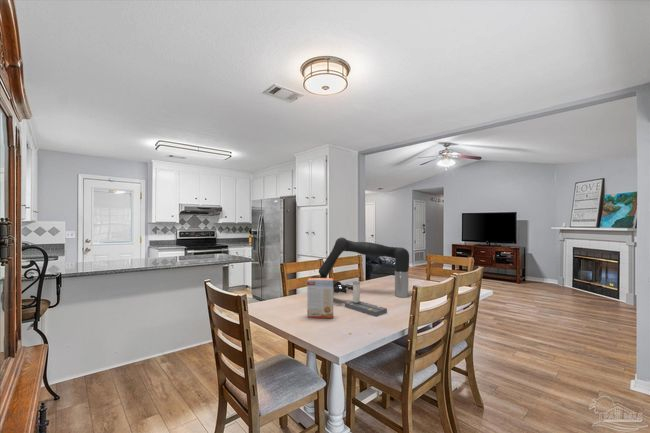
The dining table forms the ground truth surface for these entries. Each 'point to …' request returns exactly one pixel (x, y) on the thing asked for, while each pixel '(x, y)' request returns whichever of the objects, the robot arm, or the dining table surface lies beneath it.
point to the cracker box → (320, 297)
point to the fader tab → (356, 292)
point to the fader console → (366, 308)
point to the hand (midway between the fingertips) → (351, 290)
